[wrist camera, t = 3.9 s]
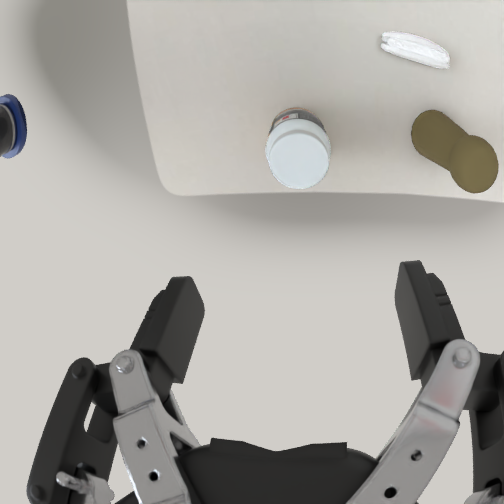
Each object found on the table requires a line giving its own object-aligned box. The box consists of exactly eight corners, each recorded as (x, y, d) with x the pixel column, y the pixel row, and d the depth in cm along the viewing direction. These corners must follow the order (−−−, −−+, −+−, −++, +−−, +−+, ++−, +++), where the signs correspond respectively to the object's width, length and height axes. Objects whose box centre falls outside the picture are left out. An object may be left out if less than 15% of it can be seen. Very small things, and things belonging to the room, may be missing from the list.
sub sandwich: (442, 72, 21) (454, 74, 18) (377, 53, 21) (384, 52, 19) (444, 47, 19) (456, 48, 17) (378, 27, 20) (386, 24, 17)
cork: (455, 112, 23) (511, 142, 14) (452, 159, 27) (500, 204, 18) (411, 108, 24) (459, 135, 16) (410, 158, 28) (451, 203, 19)
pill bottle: (260, 122, 28) (246, 149, 21) (307, 97, 26) (313, 112, 18) (288, 164, 31) (284, 206, 23) (333, 142, 29) (348, 176, 21)
